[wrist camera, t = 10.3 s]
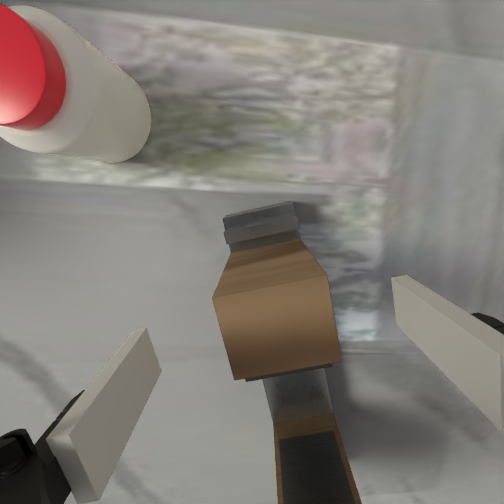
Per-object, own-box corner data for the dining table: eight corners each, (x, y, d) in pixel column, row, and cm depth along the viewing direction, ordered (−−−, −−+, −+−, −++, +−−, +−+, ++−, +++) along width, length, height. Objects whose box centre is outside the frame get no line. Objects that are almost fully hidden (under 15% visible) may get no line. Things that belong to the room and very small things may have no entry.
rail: (225, 215, 26) (196, 242, 14) (290, 201, 26) (317, 216, 14) (286, 462, 33) (302, 627, 20) (338, 454, 32) (386, 618, 20)
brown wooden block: (230, 253, 24) (211, 298, 15) (299, 238, 24) (326, 275, 14) (245, 311, 26) (236, 389, 16) (311, 298, 25) (343, 370, 16)
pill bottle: (95, 44, 23) (-44, -75, 13) (169, 112, 24) (99, 56, 14) (45, 120, 25) (-117, 72, 14) (117, 181, 26) (17, 180, 15)
